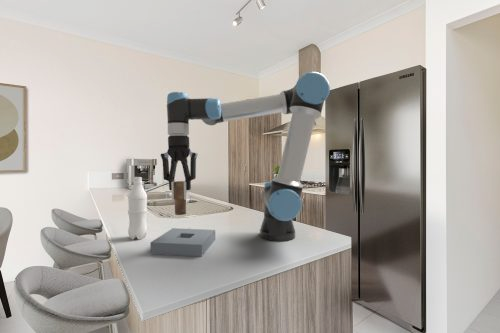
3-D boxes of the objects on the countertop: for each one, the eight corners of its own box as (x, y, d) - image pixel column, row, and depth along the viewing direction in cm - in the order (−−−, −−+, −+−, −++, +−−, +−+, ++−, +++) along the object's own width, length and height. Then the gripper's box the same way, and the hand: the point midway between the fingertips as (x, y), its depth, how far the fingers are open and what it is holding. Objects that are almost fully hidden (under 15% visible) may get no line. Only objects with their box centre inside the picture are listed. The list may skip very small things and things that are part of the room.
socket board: (215, 239, 102) (215, 229, 102) (201, 256, 84) (201, 244, 84) (172, 237, 104) (172, 228, 104) (150, 253, 86) (150, 242, 86)
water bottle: (140, 241, 99) (140, 178, 99) (124, 240, 101) (123, 177, 100) (150, 235, 106) (150, 176, 106) (135, 234, 108) (135, 176, 107)
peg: (187, 212, 95) (186, 181, 95) (183, 215, 91) (182, 182, 91) (177, 212, 96) (176, 181, 95) (173, 215, 92) (172, 182, 91)
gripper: (204, 136, 96) (205, 197, 96) (161, 137, 97) (163, 197, 98) (197, 134, 88) (199, 200, 89) (151, 135, 90) (153, 200, 91)
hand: (180, 198), depth 93 cm, fingers closed on peg, 4 cm apart
